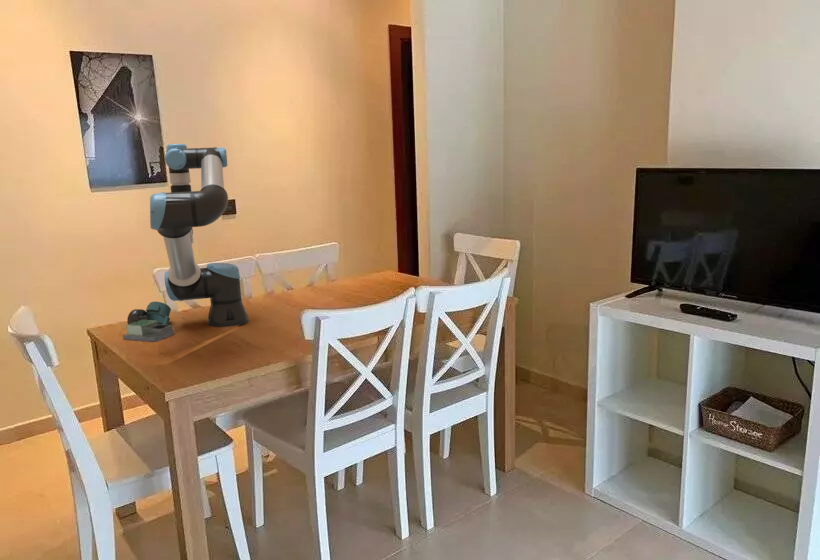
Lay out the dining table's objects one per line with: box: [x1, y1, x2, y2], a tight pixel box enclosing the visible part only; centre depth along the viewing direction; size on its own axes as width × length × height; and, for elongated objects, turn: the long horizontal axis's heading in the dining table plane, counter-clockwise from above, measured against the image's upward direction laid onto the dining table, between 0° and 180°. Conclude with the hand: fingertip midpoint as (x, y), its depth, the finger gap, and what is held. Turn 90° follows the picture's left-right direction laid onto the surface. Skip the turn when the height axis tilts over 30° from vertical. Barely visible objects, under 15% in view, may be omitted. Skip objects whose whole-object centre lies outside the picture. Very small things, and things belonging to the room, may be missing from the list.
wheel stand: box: [127, 308, 149, 325], centre depth 238 cm, size 6×8×8 cm
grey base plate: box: [122, 320, 175, 343], centre depth 231 cm, size 14×10×5 cm
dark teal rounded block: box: [145, 301, 172, 325], centre depth 245 cm, size 9×9×9 cm
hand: (186, 243), depth 254 cm, fingers closed on pin, 3 cm apart
